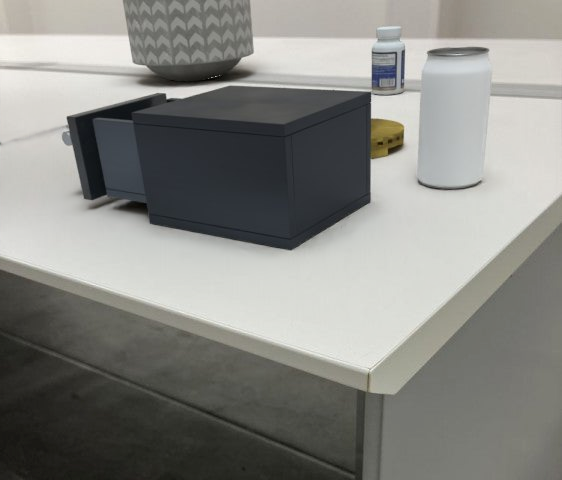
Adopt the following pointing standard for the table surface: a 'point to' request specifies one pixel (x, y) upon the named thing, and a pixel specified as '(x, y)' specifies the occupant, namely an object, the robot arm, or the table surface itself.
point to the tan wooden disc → (385, 136)
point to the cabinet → (256, 161)
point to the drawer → (109, 149)
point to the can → (453, 117)
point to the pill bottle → (388, 61)
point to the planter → (189, 36)
